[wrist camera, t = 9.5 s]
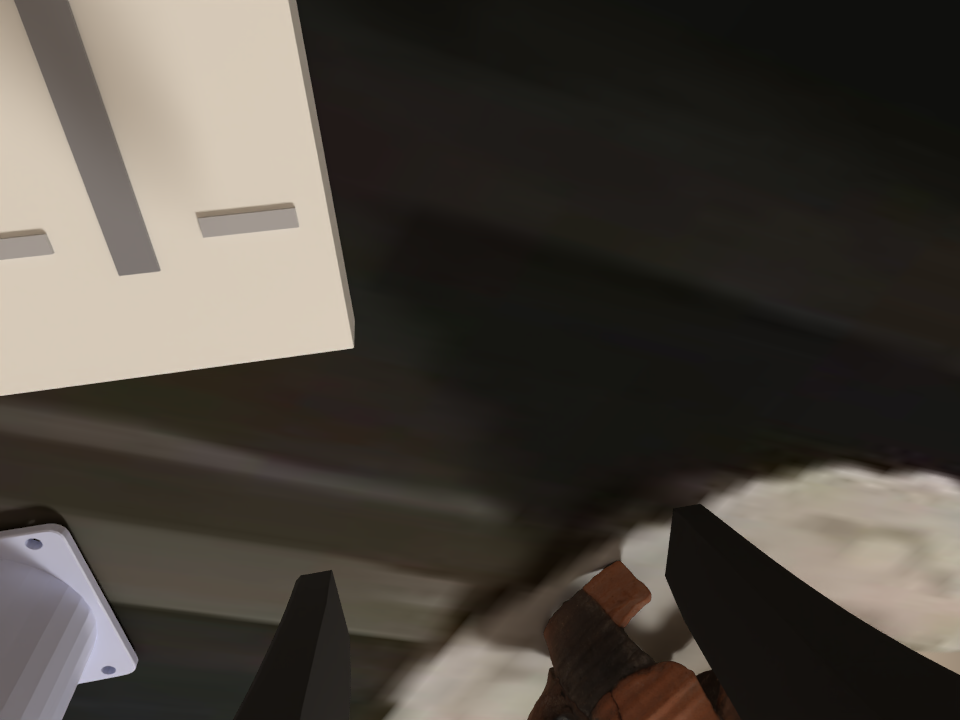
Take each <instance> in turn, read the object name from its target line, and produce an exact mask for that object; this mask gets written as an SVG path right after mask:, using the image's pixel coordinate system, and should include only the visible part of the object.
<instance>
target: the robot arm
mask: <svg viewBox="0 0 960 720" xmlns="http://www.w3.org/2000/svg"><path fill="white" fill-rule="evenodd" d="M32 538H33V539H32ZM34 539H38V540H40V541H36V540H34ZM665 577H666V579H667V582H668V584H669V586H670V589H671V591H672V594H673V596H674V598H675V601H676V603H677V605H678V608H679V610H680V612H681V614H682V616H683V619H684V621H685V623H686V625H687V626H688V628H689V630H690V632H691V634H692V635H693V637H694V639H695V641H696V642H697V644H698V646H699V648H700V649H701V651H702V653H703V655H704V656H705V658H706V660H707V661H708V663H709V665H710V667H711V668H712V670H713V672H714V673H715V675H716V677H717V679H718V680H719V682H720V684H721V685H722V687H723V689H724V691H725V692H726V694H727V696H728V697H729V699H730V701H731V703H732V704H733V706H734V708H735V709H736V711H737V713H738V715H739V716H740V718H741V720H960V675H959V674H957V673H955V672H953V671H951V670H949V669H947V668H945V667H943V666H941V665H939V664H938V663H936V662H934V661H932V660H930V659H928V658H926V657H924V656H922V655H920V654H919V653H917V652H915V651H913V650H911V649H910V648H908V647H906V646H904V645H903V644H901V643H899V642H898V641H896V640H894V639H892V638H891V637H889V636H887V635H886V634H884V633H882V632H880V631H879V630H877V629H875V628H874V627H872V626H870V625H869V624H867V623H865V622H864V621H862V620H860V619H859V618H857V617H856V616H854V615H852V614H851V613H849V612H848V611H846V610H845V609H843V608H842V607H840V606H839V605H837V604H836V603H834V602H833V601H831V600H830V599H828V598H827V597H825V596H824V595H822V594H821V593H819V592H818V591H816V590H815V589H813V588H812V587H810V586H809V585H807V584H806V583H805V582H803V581H802V580H800V579H799V578H797V577H796V576H795V575H793V574H792V573H791V572H789V571H788V570H786V569H785V568H784V567H782V566H781V565H780V564H778V563H777V562H775V561H774V560H773V559H771V558H770V557H769V556H767V555H766V554H765V553H763V552H762V551H761V550H759V549H758V548H757V547H756V546H754V545H753V544H752V543H750V542H749V541H748V540H746V539H745V538H744V537H742V536H741V535H740V534H739V533H737V532H736V531H735V530H733V529H732V528H731V527H730V526H728V525H727V524H726V523H724V522H723V521H722V520H721V519H719V518H718V517H717V516H715V515H714V514H713V513H712V512H710V511H709V510H708V509H706V508H705V507H704V506H702V505H701V504H697V505H691V506H686V507H680V508H675V509H673V516H672V524H671V532H670V540H669V548H668V556H667V564H666V572H665ZM137 663H138V657H137V655H136V653H135V652H134V650H133V648H132V646H131V644H130V642H129V641H128V639H127V637H126V635H125V633H124V631H123V630H122V628H121V626H120V624H119V622H118V620H117V619H116V617H115V615H114V613H113V611H112V609H111V608H110V606H109V604H108V602H107V600H106V598H105V597H104V595H103V593H102V591H101V589H100V587H99V586H98V584H97V582H96V580H95V578H94V576H93V575H92V573H91V571H90V569H89V567H88V565H87V564H86V562H85V560H84V558H83V556H82V554H81V553H80V551H79V549H78V547H77V545H76V543H75V542H74V540H73V538H72V536H71V534H70V532H69V531H68V530H67V529H66V528H65V527H63V526H62V525H59V524H43V525H37V526H31V527H24V528H18V529H12V530H6V531H0V720H62V718H63V716H64V714H65V711H66V709H67V707H68V705H69V702H70V700H71V698H72V695H73V693H74V691H75V689H76V686H77V684H80V683H85V682H90V681H95V680H101V679H106V678H111V677H116V676H121V675H126V674H129V673H131V672H133V671H134V670H135V668H136V665H137ZM350 697H351V668H350V637H349V633H348V629H347V625H346V622H345V618H344V614H343V610H342V606H341V603H340V599H339V595H338V591H337V587H336V584H335V580H334V576H333V572H332V570H329V571H324V572H318V573H312V574H307V575H301V576H300V577H299V578H298V579H297V580H296V583H295V586H294V588H293V591H292V594H291V597H290V599H289V602H288V604H287V607H286V610H285V612H284V614H283V617H282V619H281V622H280V624H279V626H278V629H277V631H276V633H275V636H274V638H273V640H272V642H271V645H270V647H269V649H268V651H267V653H266V655H265V657H264V660H263V662H262V664H261V666H260V668H259V670H258V672H257V674H256V676H255V679H254V681H253V683H252V685H251V687H250V689H249V691H248V693H247V694H246V696H245V698H244V700H243V702H242V704H241V706H240V708H239V709H238V711H237V713H236V715H235V717H234V719H233V720H349V711H350Z"/></svg>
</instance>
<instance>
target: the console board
mask: <svg viewBox="0 0 960 720" xmlns="http://www.w3.org/2000/svg"><path fill="white" fill-rule="evenodd" d="M354 324H355V320H354V314H353V309H352V303H351V298H350V292H349V287H348V282H347V276H346V271H345V265H344V260H343V254H342V249H341V243H340V238H339V233H338V227H337V222H336V216H335V211H334V205H333V200H332V194H331V189H330V183H329V178H328V173H327V167H326V162H325V156H324V151H323V145H322V140H321V134H320V129H319V123H318V118H317V113H316V107H315V102H314V96H313V91H312V85H311V80H310V74H309V69H308V63H307V58H306V53H305V47H304V42H303V36H302V31H301V25H300V20H299V14H298V9H297V4H296V0H0V396H3V395H10V394H18V393H25V392H32V391H40V390H47V389H55V388H62V387H69V386H77V385H84V384H92V383H99V382H106V381H114V380H121V379H129V378H136V377H143V376H151V375H158V374H165V373H173V372H180V371H188V370H195V369H202V368H210V367H217V366H225V365H232V364H239V363H247V362H254V361H262V360H269V359H276V358H284V357H291V356H299V355H306V354H313V353H321V352H328V351H336V350H343V349H350V348H354Z"/></svg>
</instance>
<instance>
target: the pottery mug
mask: <svg viewBox="0 0 960 720" xmlns="http://www.w3.org/2000/svg"><path fill="white" fill-rule="evenodd" d="M650 601H651V592H650V591H649V589H648V588H647V587H646V586H645V585H644V584H643V583H642V582H641V581H639V580H638V579H637V578H636V577H635V576H634V575H633V574H632V573H631V571H630V570H629V569H628V568H626V566H625V565H624V564H623V563H622V562H621V561H616V562H614V563H613V564H612V565H610V566H608V567H606V568H604V569H603V570H602V571H601V572H600V573H599V574H597V575H596V576H594V577H593V578H592V579H591V581H590V582H589V583H587V584H586V585H585V586H584V587H583V588H582V589H581V590H579V591H578V592H577V593H576V594H575V595H574V596H573V597H572V598H571V599H570V600H569V601H567V602H564V603H563V605H562V606H561V608H560V609H559V610H557V611H556V612H555V613H554V615H553V617H551V619H550V620H549V622H548V624H547V626H546V628H545V631H544V637H545V640H546V642H547V646H548V649H549V652H550V657H551V661H552V665H553V667H552V668H550V669H549V673H548V679H547V684H546V687H545V689H544V691H543V693H542V695H541V696H540V698H539V699H538V701H537V702H536V704H535V705H534V708H533V709H532V711H531V712H530V714H529V717H528V719H527V720H741V718H740V716H739V715H738V713H737V711H736V709H735V708H734V706H733V704H732V703H731V701H730V699H729V697H728V696H727V694H726V692H725V691H724V689H723V687H722V685H721V684H720V682H719V680H718V679H717V677H716V675H715V673H714V672H713V670H709V671H706V672H703V673H701V674H699V675H697V676H696V675H695V674H694V672H693V671H692V670H689V669H687V668H686V667H685V666H683V665H682V664H679V663H677V662H674V661H666V662H660V663H655V662H654V660H653V659H652V658H651V657H650V656H649V655H648V654H646V653H645V652H643V651H642V650H641V649H640V648H639V647H638V646H637V645H636V644H635V643H634V642H633V641H632V640H630V639H629V637H628V635H627V634H626V633H625V631H624V628H625V627H626V626H627V624H628V623H629V621H630V619H631V618H632V617H634V616H635V615H636V613H637V612H638V611H640V609H641V608H642V607H643V606H645V605H646V604H647V603H649V602H650Z"/></svg>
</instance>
